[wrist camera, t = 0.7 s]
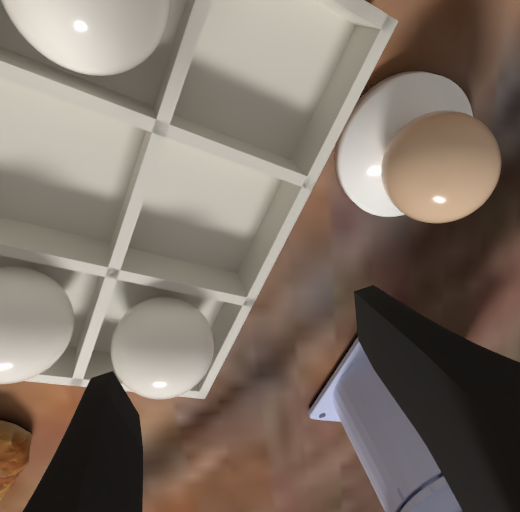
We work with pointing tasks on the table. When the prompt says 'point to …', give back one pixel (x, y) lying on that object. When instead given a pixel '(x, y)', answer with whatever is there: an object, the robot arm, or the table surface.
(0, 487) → the pastry
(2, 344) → the white egg
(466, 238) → the table surface
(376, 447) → the robot arm
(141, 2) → the white egg
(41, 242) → the egg carton
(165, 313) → the white egg
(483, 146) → the brown egg
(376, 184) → the saucer
